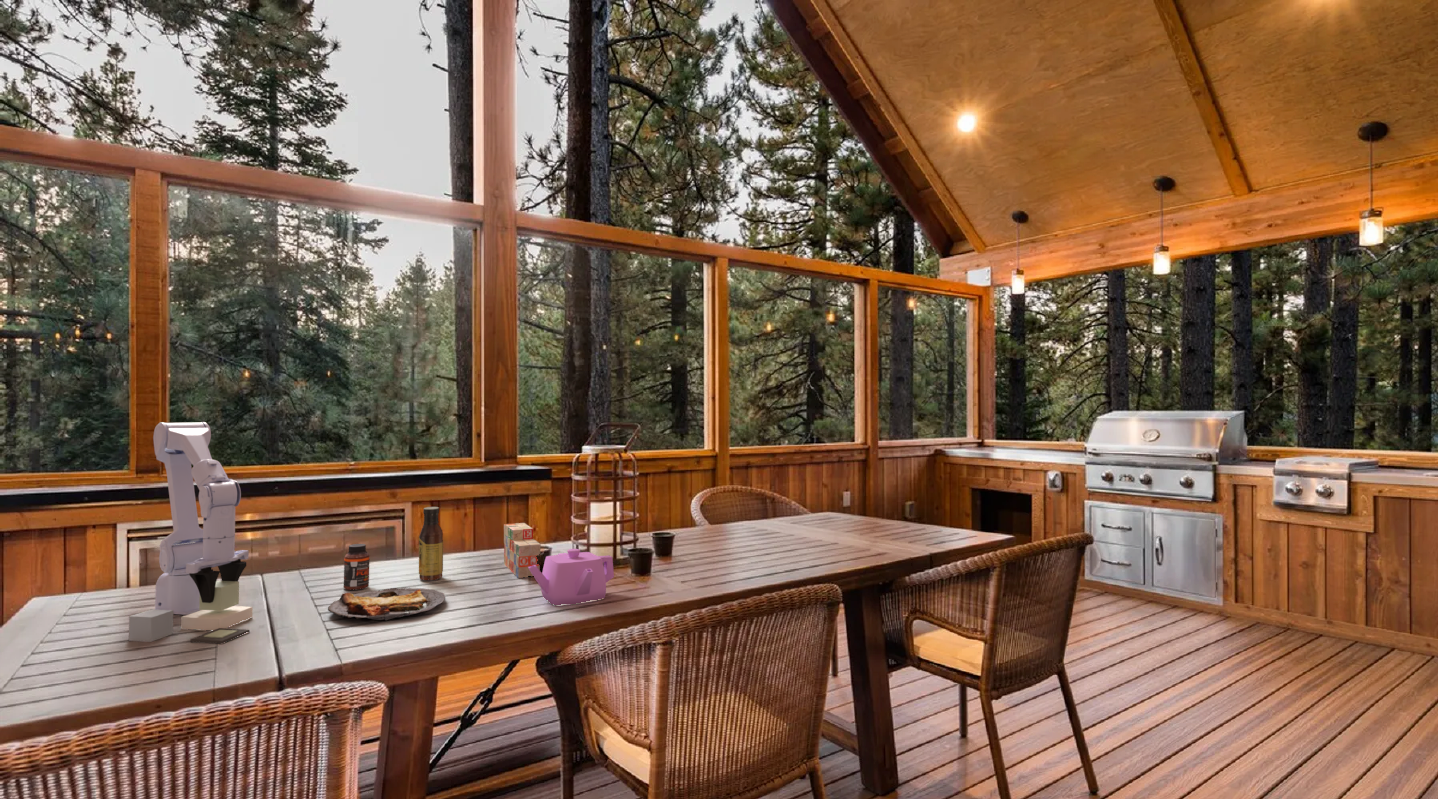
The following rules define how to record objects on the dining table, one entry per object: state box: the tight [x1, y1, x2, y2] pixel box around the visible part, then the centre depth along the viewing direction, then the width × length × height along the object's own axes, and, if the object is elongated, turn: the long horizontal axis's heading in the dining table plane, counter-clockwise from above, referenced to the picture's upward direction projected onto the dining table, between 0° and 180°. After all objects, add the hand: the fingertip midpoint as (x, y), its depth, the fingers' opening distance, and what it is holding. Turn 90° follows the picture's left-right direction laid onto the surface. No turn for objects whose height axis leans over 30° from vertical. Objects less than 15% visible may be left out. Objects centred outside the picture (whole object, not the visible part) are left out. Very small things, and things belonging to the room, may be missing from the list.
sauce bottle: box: [418, 506, 444, 582], centre depth 194 cm, size 6×6×20 cm
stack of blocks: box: [503, 522, 541, 579], centre depth 207 cm, size 21×6×12 cm, turn 28°
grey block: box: [128, 608, 174, 643], centre depth 144 cm, size 5×5×5 cm
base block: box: [180, 605, 254, 631], centre depth 153 cm, size 9×9×3 cm
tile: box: [190, 628, 250, 644], centre depth 145 cm, size 7×7×1 cm
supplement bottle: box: [343, 543, 371, 591], centre depth 184 cm, size 6×6×11 cm
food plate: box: [327, 586, 446, 621], centre depth 166 cm, size 25×23×4 cm
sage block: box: [199, 580, 240, 611], centre depth 154 cm, size 5×5×5 cm
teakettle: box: [528, 548, 615, 605], centre depth 177 cm, size 17×17×12 cm
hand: (218, 598), depth 154 cm, fingers closed on sage block, 5 cm apart
